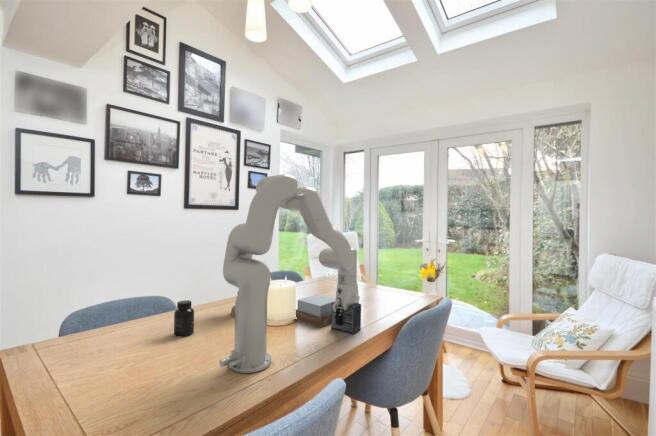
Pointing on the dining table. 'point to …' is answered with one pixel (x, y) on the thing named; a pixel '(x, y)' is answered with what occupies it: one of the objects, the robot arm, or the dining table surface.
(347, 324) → the small box
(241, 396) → the dining table surface
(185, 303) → the supplement bottle
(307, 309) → the tower top
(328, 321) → the tower base
